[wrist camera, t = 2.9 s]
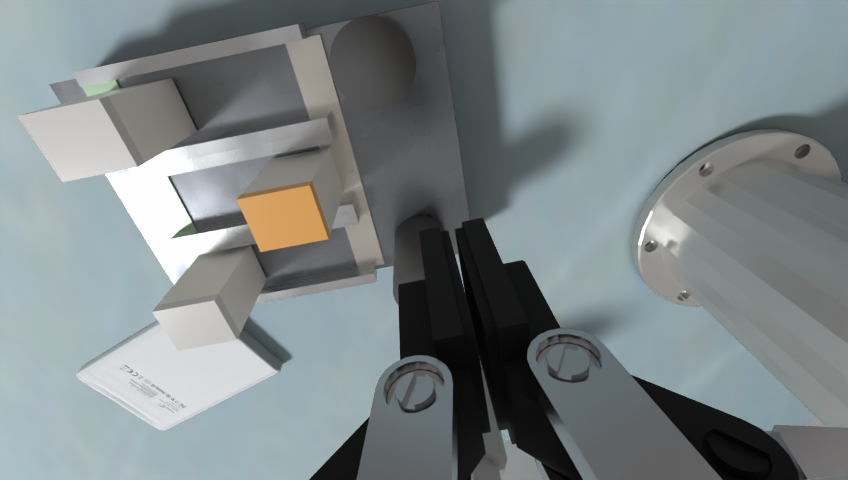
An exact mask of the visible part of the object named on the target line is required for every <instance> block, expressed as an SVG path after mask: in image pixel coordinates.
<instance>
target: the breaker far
mask: <svg viewBox="0 0 848 480" xmlns="http://www.w3.org/2000/svg"><path fill="white" fill-rule="evenodd" d="M266 280H267V278H266V276H265V274H264V272H263V270H262V268H261V266H260V264H259V261H258V259H257V257H256V255H255V253H254V251H253V249H252V247H251V245H246V246H241V247H236V248H231V249H225V250H220V251H215V252H210V253H204V254H199V255H198V257H197V258H196V259H195V260H194V261H193V263H192V264H191V265H190V266H189V268H188V269H187V270H186V271H185V272H184V274H183V275H182V276H181V277H180V278H179V280H178V281H177V282H176V283H175V285H174V286H173V287H172V288H171V289H170V291H169V292H168V293H167V294H166V295H165V297H164V298H163V299H162V300H161V302H160V303H159V304H158V305H157V306H156V308H155V309H154V310H153V311H152V313H153V314H154V316H155V317H156V319H157V320H158V322H159V323H160V325H161V326H162V328H163V329H164V330H165V332H166V333H167V335H168V336H169V338H170V339H171V341H172V342H173V344H174V345H175V347H176V348H177V349H178V351H179V350H185V349H190V348H196V347H201V346H207V345H212V344H218V343H223V342H229V341H235V340H237V339H238V337H239V335H240V333H241V331H242V329H243V327H244V325H245V323H246V321H247V319H248V317H249V315H250V313H251V311H252V309H253V307H254V305H255V302H256V300H257V298H258V296H259V294H260V292H261V290H262V288H263V286H264V284H265V282H266Z"/></svg>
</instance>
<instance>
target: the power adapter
mask: <svg viewBox="0 0 848 480" xmlns="http://www.w3.org/2000/svg"><path fill="white" fill-rule="evenodd" d="M481 372H482V378H483V384H484V390H485V397H486V403H487V409H488V415H489V422H490V428H491V432H489V433H484V434H483V439H484V445H485V451H486V454H485V455H484V457H483V458H482V460H481V461H480V462H479V464H478V465H477V467H476V468H475V470H474V471H473V477H474V480H501V477H502V476H503V475H504V472H505V468H506V463H507V455H506V451H505V447H504V442H503V438H502V434H501V430H500V431H499V430H498V426H497V423H496V419H495V415H494V411H493V407H492V403H491V399H490V396H489V392H488V388H487V384H486V380H485V376H484V372H483V370H482V369H481Z"/></svg>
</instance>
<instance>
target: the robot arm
mask: <svg viewBox="0 0 848 480" xmlns="http://www.w3.org/2000/svg"><path fill="white" fill-rule="evenodd" d="M455 235H456V241H457V247H458V254H459V260H460V266H461V272H462V278H463V284H464V288H463V284H462V280H461V277H460V273H459V269H458V265H457V261H456V258H455V254H454V250H453V246H452V242H451V239H450V235H449V231H448V230H447V231H442V232H440V228H439V227H434V228H429V229H424V230H419V236H420V244H421V251H422V259H423V267H424V275H425V279H423V280H418V281H413V282H408V283H403V284H399V285H398V297H399V330H400V360H399V361H397V362H395V363H394V364H392V365H391V366H390V367H389V368H387V369H386V370H385V372H384V373H383V374H382V375H381V377H380V378H379V381H378V383H377V386H376V389H375V394H374V398H373V403H372V408H371V413H370V417H369V418H368V419H367V420H366V421H365V422H364V423H363V424H362V425H361V426H360V427H359V428H358V429H357V430H356V431H355V432H354V433H353V435H352V436H351V437H350V438H349V439H348V440H347V441H346V442H345V443H344V444H343V445H342V446H341V447H340V448H339V449H338V450H337V451H336V452H335V453H334V454H333V455H332V456H331V457H330V458H329V460H328V461H327V462H326V463H325V464H324V465H323V466H322V467H321V468H320V469H319V470H318V471H317V472H316V473H315V474H314V475H313V476H312V477H311V478H310V479H309V480H474V477H473V471H474V470H475V468H476V467H477V465H478V464H479V462H480V461H481V460H482V458H483V457H484V455H485V454H486V451H485V445H484V439H483V434H484V433H489V432H491V428H490V422H489V415H488V409H487V403H486V397H485V390H484V384H483V378H482V372H481V365H480V361H481V364H482V368H483V372H484V376H485V380H486V384H487V388H488V392H489V396H490V399H491V403H492V407H493V411H494V415H495V419H496V423H497V426H498V430H499V431H500V430H505V429H508V432H509V436H510V439H511V443H512V445H513V444H516V446H517V448H519V449H520V450H522V451H524V452H525V453H527V454H529V455H530V456H532V457H534V459H535V463H536V466H537V469H538V471H539V473H540V475H541V477H542V479H543V480H848V183H845V182H843V181H841V173H840V170H839V167H838V164H837V161H836V159H835V158H834V157H833V155H832V154H831V152H830V151H829V150H828V149H827V148H826V147H824V146H823V145H822V144H820V143H819V142H818V141H816V140H814V139H811V138H809V137H806V136H803V135H800V134H797V133H794V132H789V131H784V130H780V129H758V130H753V131H748V132H742V133H738V134H735V135H732V136H729V137H727V138H724V139H721V140H718V141H716V142H714V143H712V144H710V145H709V146H707V147H705V148H703V149H701V150H699V151H697V152H696V153H694V154H693V155H692V156H690V157H689V158H688V159H686V160H685V161H683V162H682V163H681V164H679V165H678V166H677V167H676V168H675V169H674V170H673V171H672V172H671V173H670V174H669V175H668V176H666V177H665V178H664V179H663V180H662V181H661V183H660V184H659V185H658V187H657V188H656V189H655V190H654V192H653V193H652V194H651V195H650V197H649V198H648V200H647V202H646V204H645V205H644V207H643V209H642V211H641V212H640V215H639V217H638V220H637V223H636V226H635V229H634V233H633V240H632V256H633V262H634V264H635V267H636V270H637V272H638V274H639V275H640V277H641V278H642V280H643V281H644V282H645V283H646V284H647V285H648V286H649V287H650V288H651V289H652V290H653V292H654V293H656V294H657V295H659V296H660V297H662V298H663V299H665V300H667V301H670V302H672V303H675V304H679V305H685V306H693V307H699V306H702V307H703V308H704V309H705V310H706V311H707V312H708V313H710V314H711V315H712V316H713V317H714V318H715V319H716V320H717V321H718V322H719V323H720V324H721V325H722V326H723V327H724V328H725V329H726V330H727V331H728V332H729V333H730V334H731V335H732V336H733V337H734V338H735V339H736V340H737V341H738V342H739V343H740V344H741V345H742V346H743V347H744V348H745V349H746V350H748V351H749V352H750V353H751V354H752V355H753V356H754V357H755V358H756V359H757V360H758V361H759V362H760V363H761V364H762V365H763V366H764V367H765V368H766V369H767V370H768V371H769V372H770V373H771V374H772V375H773V376H774V377H775V378H776V379H777V380H778V381H779V382H780V383H781V384H782V385H783V386H785V387H786V388H787V389H788V390H789V391H790V392H791V393H792V394H793V395H794V396H795V397H796V398H797V399H798V400H799V401H800V402H801V403H802V404H803V405H804V406H805V407H806V408H807V409H808V410H809V411H810V412H811V413H812V414H813V415H814V416H815V417H816V418H817V419H818V420H819V421H821V422H822V423H823V424H824V425H825V426H826V427H816V426H815V427H814V426H788V425H774V427H773V430H772V431H763V430H762V429H760V428H758V427H756V426H754V425H752V424H750V423H748V422H746V421H744V420H742V419H740V418H737V417H735V416H732V415H730V414H727V413H725V412H722V411H720V410H717V409H715V408H712V407H710V406H707V405H705V404H702V403H700V402H697V401H695V400H692V399H690V398H687V397H685V396H682V395H680V394H677V393H675V392H672V391H670V390H667V389H665V388H662V387H660V386H657V385H655V384H652V383H650V382H647V381H645V380H642V379H640V378H637V377H635V376H632V375H630V374H629V372H628V371H627V370H626V369H625V368H624V367H623V366H622V364H621V363H620V362H619V361H618V360H617V359H616V358H615V356H614V355H613V354H612V353H611V352H610V351H609V350H608V348H607V347H606V346H605V345H604V344H603V343H602V342H600V341H599V340H598V339H597V338H596V337H594V336H592V335H590V334H588V333H586V332H583V331H579V330H575V329H566V328H560V326H559V324H558V322H557V321H556V319H555V317H554V315H553V313H552V311H551V309H550V307H549V306H548V304H547V302H546V300H545V298H544V296H543V294H542V292H541V291H540V289H539V287H538V285H537V283H536V281H535V279H534V278H533V276H532V274H531V272H530V270H529V268H528V266H527V264H526V263H525V261H523V260H521V261H516V262H511V263H506V264H503V263H502V260H501V258H500V256H499V254H498V251H497V249H496V247H495V245H494V242H493V240H492V238H491V236H490V233H489V231H488V229H487V227H486V224H485V222H484V220H483V218H479V219H474V220H469V221H464V222H462V228H457V229H455ZM464 290H465V292H464ZM479 357H480V359H479Z"/></svg>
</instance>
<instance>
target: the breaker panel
mask: <svg viewBox="0 0 848 480" xmlns="http://www.w3.org/2000/svg"><path fill="white" fill-rule="evenodd" d="M376 15H383V16H387V17H390V18H392V19H394V20H395V21H397V22H398V23H399V24H400V25H401V26H402V27H403V28H404V29H405V31H406V32H407V34H408V36H409V39H410V41H411V44H412V47H413V49H414V53H415V57H416V73H415V78H414V81H413V84H412V86H411V88H410V90H409V92H408V93H407V94H406V96H405V97H404V98H403V99H402V100H400V101H399V102H398V103H396V104H395V105H393V106H391V107H388V108H385V109H379V110H372V109H366V108H362V107H360V106H357V105H355V104H354V103H352V102H350V101H349V100H348V99H347V98H346V97H345V96H343V94H342V93H341V92H340V91H339V89H338V88H337V86H336V84H335V82H334V80H333V78H332V75H331V70H330V63H329V58H330V50H331V46H332V43H333V41H334V38H335V37H336V35H337V33H338V32H339V31H340V30H341V28H343V27H344V26H345V25H346V24H347V23H349V22H350V21H352V20H348V21H343V22H339V23H334V24H329V25H325V26H320V27H315V28H311V29H306V30H305V28H304V25H303V23H302V24H296V25H291V26H286V27H282V28H277V29H273V30H268V31H263V32H259V33H254V34H249V35H245V36H240V37H235V38H231V39H226V40H221V41H217V42H212V43H207V44H203V45H198V46H193V47H189V48H184V49H180V50H175V51H170V52H166V53H161V54H156V55H152V56H147V57H142V58H138V59H133V60H128V61H124V62H119V63H114V64H110V65H105V66H101V67H96V68H91V69H87V70H82V71H77V72H73V73H72V74H73V76H74V77H75V79H73V80H68V81H63V82H59V83H54V84H49V85H50V86H51V88H52V90H53V91H54V93H55V94H56V96H57V98H58V99H59V101H60V102H61V104H63V103H67V102H71V101H74V100H78V99H82V98H85V97H89V96H93V95H96V94H100V93H104V92H107V91H111V90H116V89H121V88H125V87H130V86H135V85H140V84H144V83H149V82H154V81H158V80H163V79H168V78H172V79H173V81H174V83H175V86H176V88H177V90H178V92H179V94H180V96H181V98H182V100H183V103H184V105H185V107H186V109H187V111H188V113H189V115H190V117H191V119H192V122H193V124H194V126H195V128H196V130H197V132H196V133H194V134H192V135H191V136H189V137H187V138H186V139H184V140H182V141H181V142H179V143H177V144H176V145H174V146H172V147H170V148H169V149H167V150H165V151H164V152H162V153H160V154H159V155H157V156H155V157H154V158H152V159H150V160H149V161H147V162H145V163H144V164H142V165H140V166H139V167H135V168H130V169H125V170H120V171H115V172H110V173H105V175H106V176H107V178H108V180H109V181H110V183H111V184H112V186H113V188H114V189H115V191H116V192H117V194H118V196H119V197H120V199H121V200H122V202H123V204H124V205H125V207H126V209H127V210H128V212H129V213H130V215H131V217H132V218H133V220H134V221H135V223H136V225H137V226H138V228H139V229H140V231H141V233H142V234H143V236H144V237H145V239H146V241H147V242H148V244H149V245H150V247H151V249H152V250H153V252H154V254H155V255H156V257H157V258H158V260H159V262H160V263H161V265H162V266H163V268H164V270H165V271H166V273H167V274H168V276H169V278H170V279H171V281H172V282H173V284H174V285H175V283H176V282H177V281H178V280H179V278H180V277H181V276H182V275H183V274H184V272H185V271H186V270H187V269H188V268H189V266H190V265H191V264H192V263H193V261H194V260H195V259H196V258H197V257H198V255H199V254H204V253H210V252H215V251H220V250H225V249H231V248H236V247H241V246H246V245H251V247H252V249H253V251H254V253H255V255H256V257H257V259H258V261H259V264H260V266H261V268H262V270H263V272H264V274H265V276H266V278H267V280H266V282H265V284H264V286H263V288H262V290H261V292H260V294H259V296H258V298H257V300H256V302H255V304H259V303H265V302H270V301H275V300H281V299H286V298H292V297H297V296H303V295H308V294H313V293H319V292H324V291H330V290H335V289H341V288H346V287H352V286H357V285H362V284H368V283H373V282H376V278H377V271H376V269H378V268H384V267H389V266H394V236H395V232H396V229H397V228H398V226H399V225H400V224H401V223H402V222H403V221H404V220H406V219H408V218H410V217H413V216H428V217H431V218H433V219H435V220H437V221H438V222H439V223H440V224H441V225H442V226H443V228H444V230H445V231H447V230H448V231H449V235H450V239H451V242H452V246H453V250H454V254H458V247H457V241H456V235H455V229H457V228H462V222H464V221H469V220H470V218H469V211H468V204H467V197H466V190H465V183H464V176H463V169H462V162H461V155H460V148H459V141H458V134H457V127H456V120H455V113H454V106H453V99H452V92H451V85H450V78H449V71H448V64H447V57H446V50H445V43H444V36H443V29H442V22H441V15H440V8H439V1H437V2H432V3H427V4H423V5H418V6H413V7H409V8H404V9H399V10H395V11H390V12H385V13H381V14H376ZM353 20H354V19H353ZM328 147H329V148H330V151H331V155H332V158H333V161H334V164H335V168H336V171H337V174H338V177H339V180H340V184H341V187H342V190H343V194H342V198H341V201H340V204H339V207H338V210H337V214H336V217H335V220H334V223H333V227H332V230H331V233H330V236H329V239H327V240H322V241H316V242H311V243H306V244H300V245H295V246H290V247H285V248H279V249H274V250H269V251H264V252H260V250H259V247H258V245H257V243H256V241H255V239H254V237H253V234H252V232H251V230H250V228H249V226H248V224H247V221H246V219H245V217H244V215H243V213H242V211H241V208H240V206H239V204H238V202H237V198H238V197H239V196H240V195H241V194H242V193H243V192H244V190H245V189H246V188H247V187H248V186H249V185H250V183H251V182H252V181H253V180H254V179H255V178H256V177H257V175H258V174H259V173H260V172H261V171H262V170H263V168H264V167H265V166H266V165H267V164H268V163H269V161H270V160H271V159H273V158H278V157H283V156H288V155H293V154H298V153H303V152H308V151H313V150H318V149H323V148H328Z"/></svg>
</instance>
